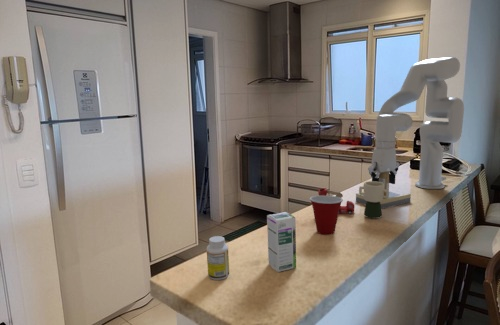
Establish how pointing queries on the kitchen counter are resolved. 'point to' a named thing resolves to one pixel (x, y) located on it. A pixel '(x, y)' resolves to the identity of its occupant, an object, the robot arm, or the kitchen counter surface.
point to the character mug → (373, 198)
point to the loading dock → (391, 201)
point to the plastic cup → (326, 213)
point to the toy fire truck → (343, 209)
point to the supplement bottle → (217, 258)
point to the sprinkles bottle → (384, 179)
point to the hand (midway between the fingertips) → (383, 185)
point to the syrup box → (281, 241)
